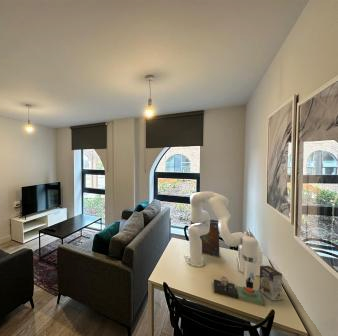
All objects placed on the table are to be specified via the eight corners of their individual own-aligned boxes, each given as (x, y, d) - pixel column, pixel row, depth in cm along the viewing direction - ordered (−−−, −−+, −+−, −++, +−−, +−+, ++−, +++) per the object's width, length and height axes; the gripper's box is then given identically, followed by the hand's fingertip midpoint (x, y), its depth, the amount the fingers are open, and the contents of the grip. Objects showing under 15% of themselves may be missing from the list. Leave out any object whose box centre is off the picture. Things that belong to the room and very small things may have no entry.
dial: (229, 287, 118) (229, 279, 118) (223, 288, 118) (223, 280, 118) (225, 283, 122) (225, 275, 122) (219, 284, 122) (219, 276, 122)
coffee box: (258, 290, 120) (259, 265, 119) (268, 289, 121) (268, 265, 120) (272, 300, 111) (272, 274, 110) (282, 299, 112) (282, 273, 111)
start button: (245, 292, 114) (245, 289, 113) (244, 288, 117) (244, 285, 117) (253, 294, 112) (253, 291, 112) (252, 289, 115) (252, 287, 115)
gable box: (238, 257, 159) (238, 225, 157) (257, 262, 152) (258, 228, 151) (239, 271, 140) (240, 234, 138) (262, 277, 133) (262, 238, 132)
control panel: (214, 293, 118) (214, 288, 118) (213, 283, 127) (213, 278, 127) (236, 298, 113) (236, 293, 113) (234, 288, 122) (234, 283, 122)
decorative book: (219, 253, 167) (219, 220, 165) (219, 257, 160) (219, 222, 159) (190, 248, 178) (190, 217, 176) (190, 251, 172) (190, 219, 170)
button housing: (238, 299, 113) (238, 292, 113) (236, 288, 122) (236, 282, 122) (263, 305, 108) (263, 298, 107) (258, 294, 117) (259, 287, 116)
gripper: (240, 251, 122) (239, 278, 123) (244, 262, 108) (244, 293, 109) (254, 253, 119) (253, 281, 119) (260, 265, 105) (260, 297, 106)
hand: (249, 287), depth 114 cm, fingers closed
